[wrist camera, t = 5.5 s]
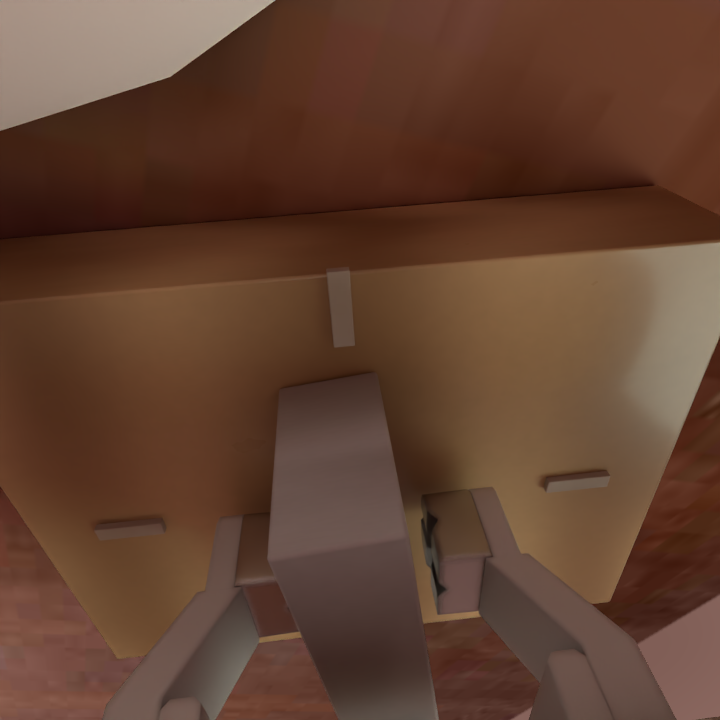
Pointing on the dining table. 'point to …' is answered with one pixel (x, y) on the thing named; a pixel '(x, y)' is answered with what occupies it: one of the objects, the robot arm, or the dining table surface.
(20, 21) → the plate
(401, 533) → the red-tipped grey block
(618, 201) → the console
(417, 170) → the dining table surface
